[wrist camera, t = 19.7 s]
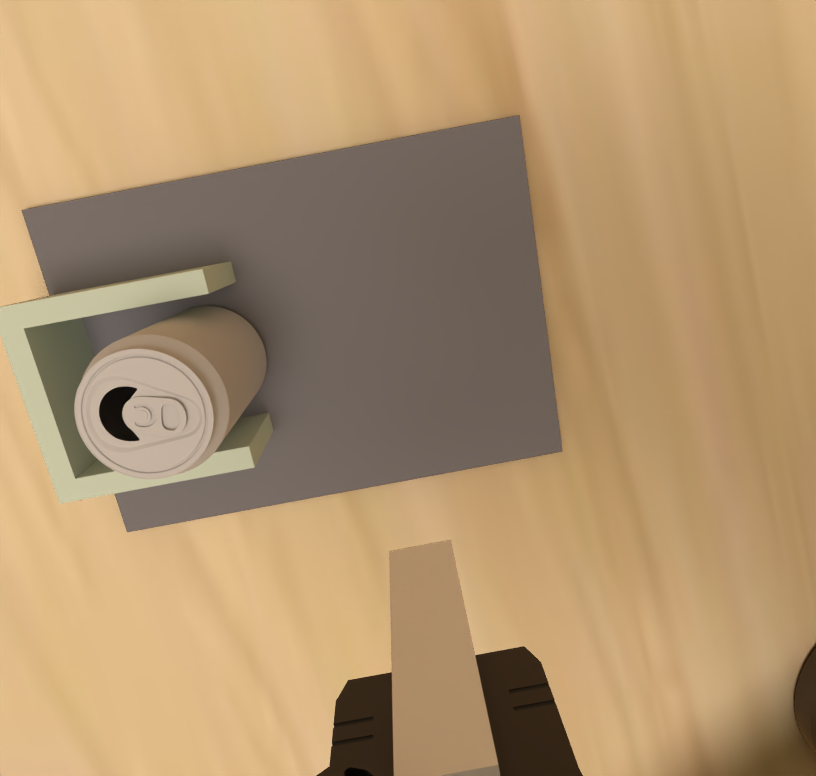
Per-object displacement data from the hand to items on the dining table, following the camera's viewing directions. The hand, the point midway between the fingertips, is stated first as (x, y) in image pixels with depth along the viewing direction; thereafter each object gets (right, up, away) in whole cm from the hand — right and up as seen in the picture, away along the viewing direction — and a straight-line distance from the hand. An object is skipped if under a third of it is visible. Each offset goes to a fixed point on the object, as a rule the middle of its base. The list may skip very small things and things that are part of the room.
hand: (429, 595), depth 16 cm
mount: (-6, +8, +23) cm, 25 cm away
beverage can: (-12, +7, +22) cm, 26 cm away
